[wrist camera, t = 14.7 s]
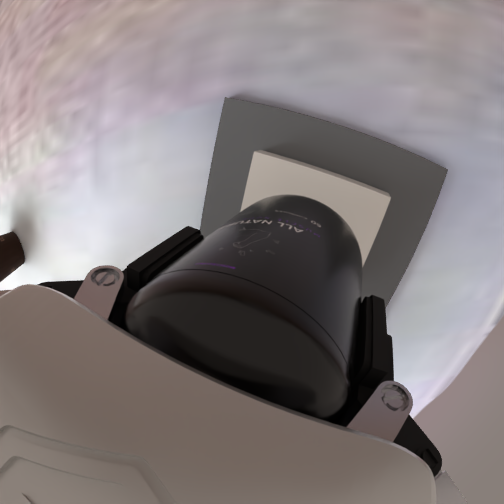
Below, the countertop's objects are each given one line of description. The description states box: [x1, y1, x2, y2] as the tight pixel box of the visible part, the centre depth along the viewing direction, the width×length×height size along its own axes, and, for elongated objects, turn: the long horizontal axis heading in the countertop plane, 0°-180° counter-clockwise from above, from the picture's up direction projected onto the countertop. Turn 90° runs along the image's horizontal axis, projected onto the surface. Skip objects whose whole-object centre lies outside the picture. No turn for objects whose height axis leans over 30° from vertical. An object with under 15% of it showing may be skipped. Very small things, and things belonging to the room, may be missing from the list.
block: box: [240, 150, 391, 267], centre depth 19 cm, size 9×2×7 cm
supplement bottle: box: [118, 194, 363, 426], centre depth 9 cm, size 7×7×12 cm
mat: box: [200, 97, 448, 308], centre depth 20 cm, size 16×15×1 cm
